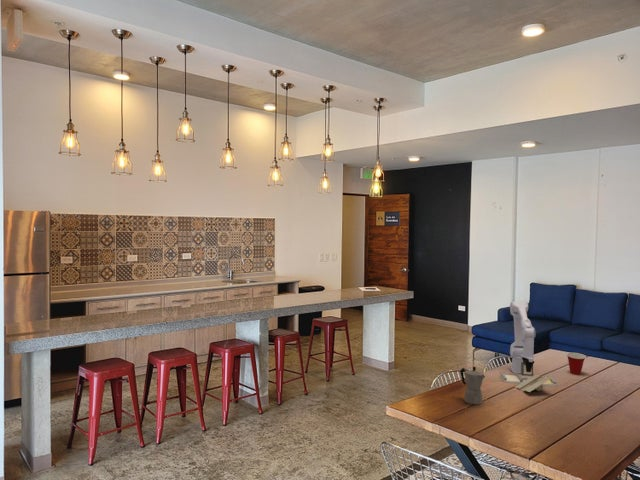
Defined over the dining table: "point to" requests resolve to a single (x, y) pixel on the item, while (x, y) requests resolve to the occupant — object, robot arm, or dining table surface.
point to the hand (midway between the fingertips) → (527, 370)
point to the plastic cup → (575, 362)
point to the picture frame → (523, 370)
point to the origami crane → (533, 383)
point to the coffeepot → (472, 385)
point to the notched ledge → (523, 379)
